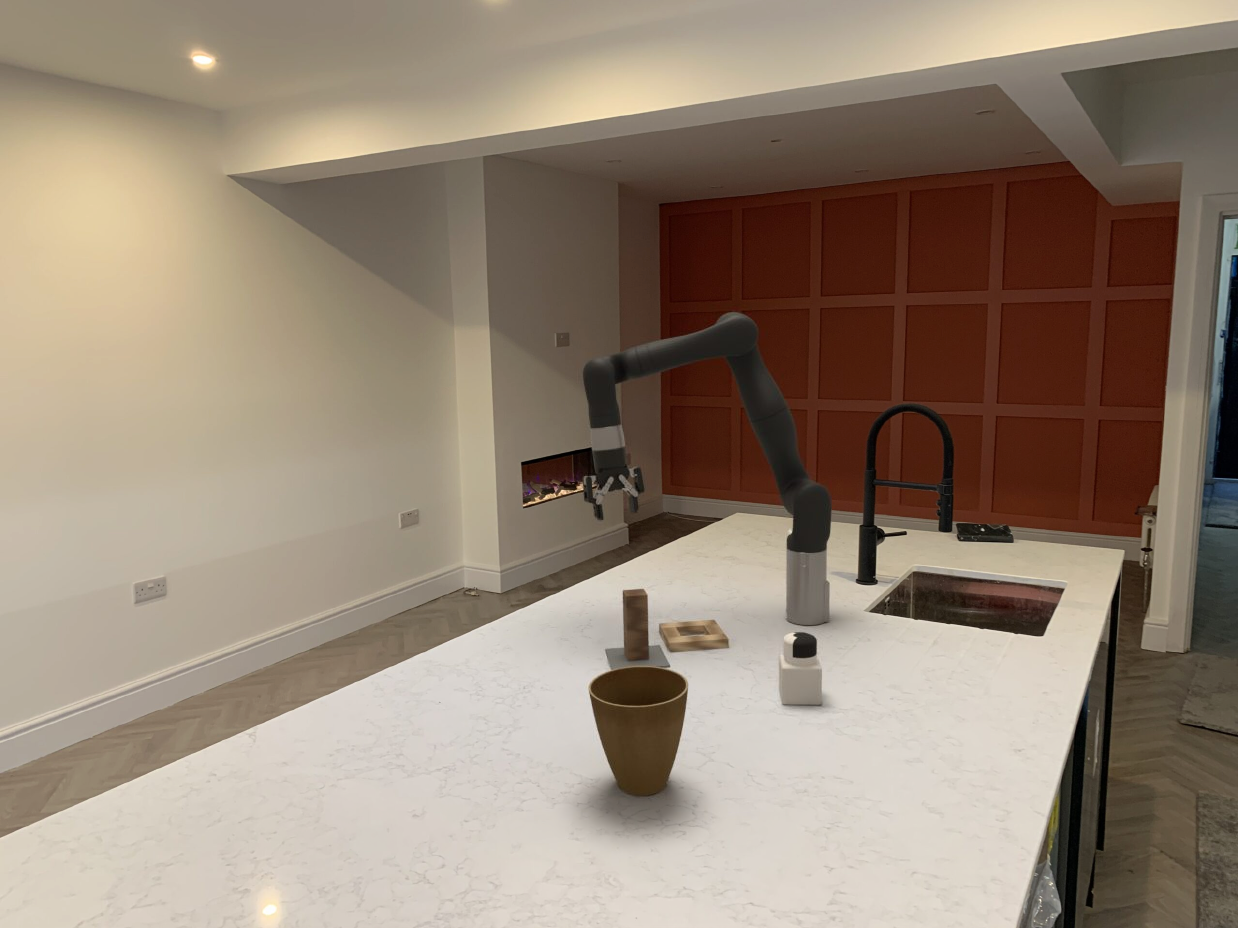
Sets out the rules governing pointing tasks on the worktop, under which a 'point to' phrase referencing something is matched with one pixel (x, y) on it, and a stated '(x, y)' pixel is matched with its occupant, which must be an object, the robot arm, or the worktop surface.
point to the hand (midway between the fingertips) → (617, 516)
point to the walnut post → (635, 624)
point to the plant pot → (640, 724)
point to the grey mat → (620, 661)
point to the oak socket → (709, 640)
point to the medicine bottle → (800, 670)
